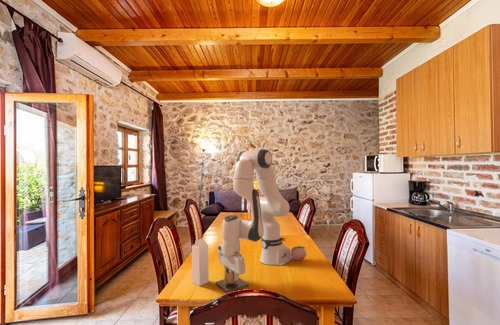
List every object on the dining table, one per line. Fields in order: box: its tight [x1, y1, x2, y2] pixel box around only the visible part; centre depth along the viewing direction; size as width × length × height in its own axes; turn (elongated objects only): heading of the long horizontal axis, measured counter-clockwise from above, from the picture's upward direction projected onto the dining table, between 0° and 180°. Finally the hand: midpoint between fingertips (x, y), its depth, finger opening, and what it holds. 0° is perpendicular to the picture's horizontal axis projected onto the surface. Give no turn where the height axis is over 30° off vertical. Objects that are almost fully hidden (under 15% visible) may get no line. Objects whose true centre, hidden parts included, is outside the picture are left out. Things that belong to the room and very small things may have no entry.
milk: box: [191, 237, 210, 287], centre depth 128 cm, size 6×6×22 cm
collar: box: [224, 268, 238, 284], centre depth 125 cm, size 6×6×5 cm
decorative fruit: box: [290, 245, 307, 263], centre depth 154 cm, size 9×8×10 cm
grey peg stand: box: [214, 269, 250, 294], centre depth 125 cm, size 12×12×8 cm
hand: (231, 277), depth 125 cm, fingers closed on collar, 6 cm apart
